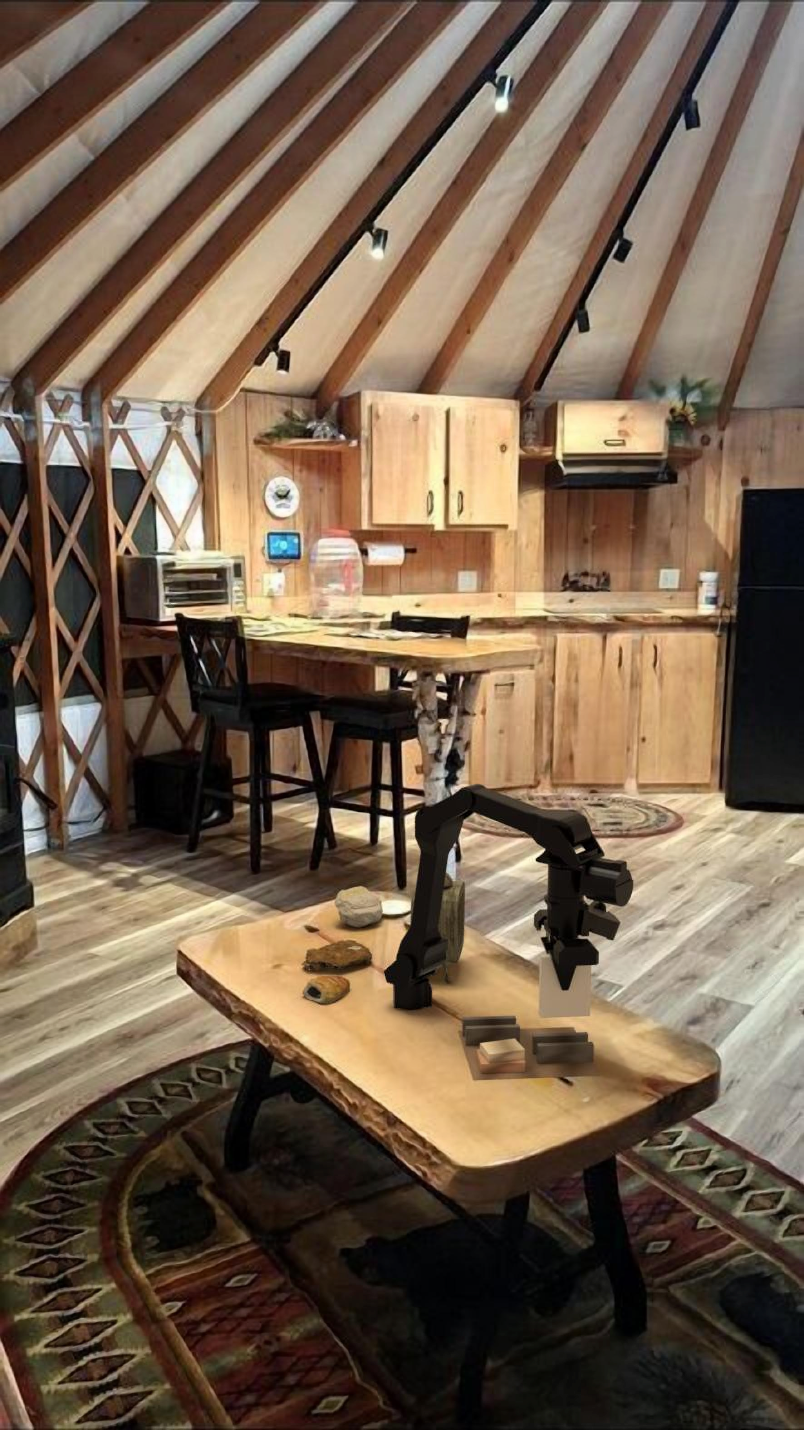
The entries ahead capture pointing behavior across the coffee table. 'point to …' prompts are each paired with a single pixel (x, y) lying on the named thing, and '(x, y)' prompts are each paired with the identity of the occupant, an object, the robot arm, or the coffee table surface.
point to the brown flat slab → (337, 955)
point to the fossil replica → (358, 907)
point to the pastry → (326, 988)
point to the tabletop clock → (451, 920)
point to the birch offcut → (502, 1051)
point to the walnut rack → (530, 1048)
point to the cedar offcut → (499, 1065)
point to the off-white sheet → (560, 1001)
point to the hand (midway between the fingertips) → (563, 987)
